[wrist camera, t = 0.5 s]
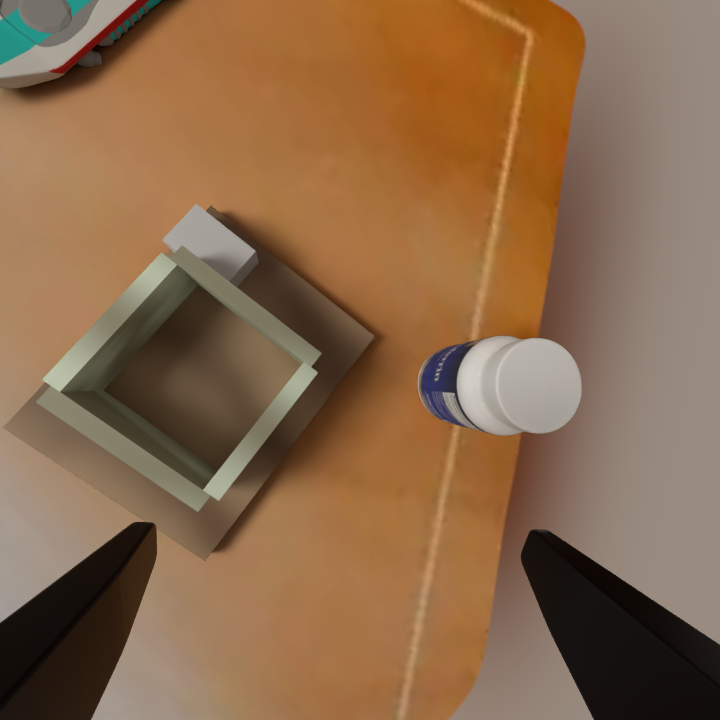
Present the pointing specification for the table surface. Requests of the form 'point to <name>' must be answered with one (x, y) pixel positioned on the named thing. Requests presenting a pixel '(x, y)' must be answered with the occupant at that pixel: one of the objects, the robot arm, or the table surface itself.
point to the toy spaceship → (59, 35)
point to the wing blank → (213, 245)
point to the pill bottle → (502, 385)
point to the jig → (193, 390)
